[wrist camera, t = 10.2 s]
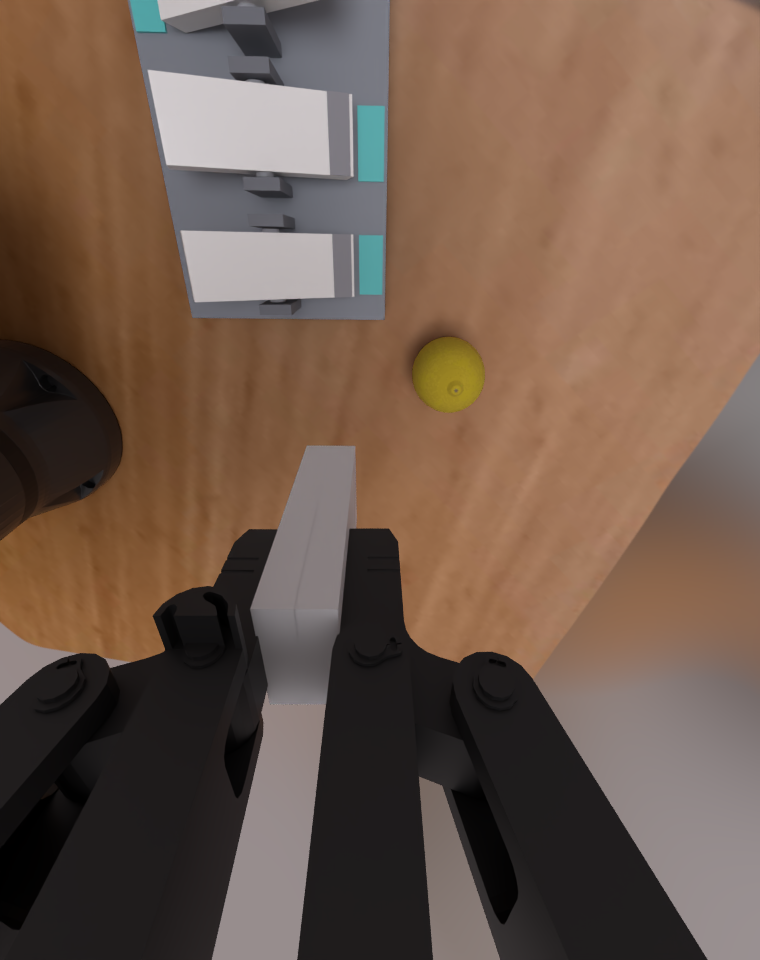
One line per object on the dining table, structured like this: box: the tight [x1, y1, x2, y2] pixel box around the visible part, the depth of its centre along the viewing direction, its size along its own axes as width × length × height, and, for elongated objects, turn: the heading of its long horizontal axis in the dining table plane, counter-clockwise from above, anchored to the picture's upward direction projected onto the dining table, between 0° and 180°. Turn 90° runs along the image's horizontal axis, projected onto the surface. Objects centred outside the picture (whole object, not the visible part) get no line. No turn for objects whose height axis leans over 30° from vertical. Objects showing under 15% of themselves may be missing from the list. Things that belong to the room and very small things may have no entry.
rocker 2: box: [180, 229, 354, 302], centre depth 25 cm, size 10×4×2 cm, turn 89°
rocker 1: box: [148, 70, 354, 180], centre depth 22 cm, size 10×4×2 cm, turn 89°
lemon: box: [412, 337, 485, 413], centre depth 32 cm, size 6×6×8 cm
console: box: [128, 0, 390, 320], centre depth 25 cm, size 14×20×8 cm
